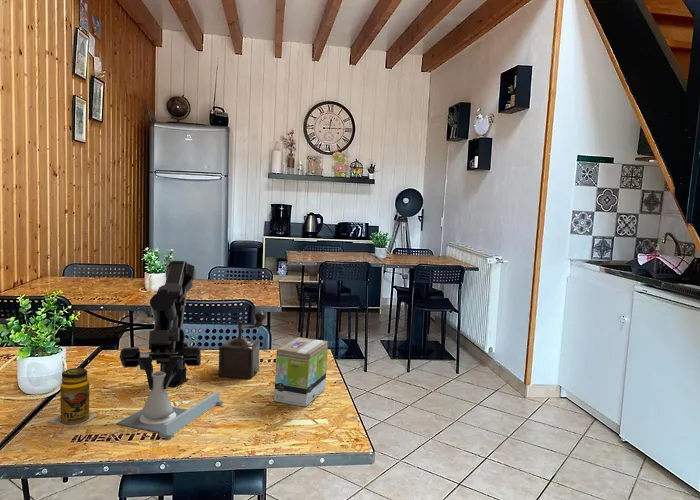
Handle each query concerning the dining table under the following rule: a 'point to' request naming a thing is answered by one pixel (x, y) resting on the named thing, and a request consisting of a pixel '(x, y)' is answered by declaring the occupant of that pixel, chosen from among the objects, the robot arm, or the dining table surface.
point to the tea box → (300, 371)
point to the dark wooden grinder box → (241, 354)
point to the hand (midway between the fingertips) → (157, 388)
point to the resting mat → (149, 421)
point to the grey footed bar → (190, 415)
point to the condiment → (74, 398)
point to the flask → (157, 399)
